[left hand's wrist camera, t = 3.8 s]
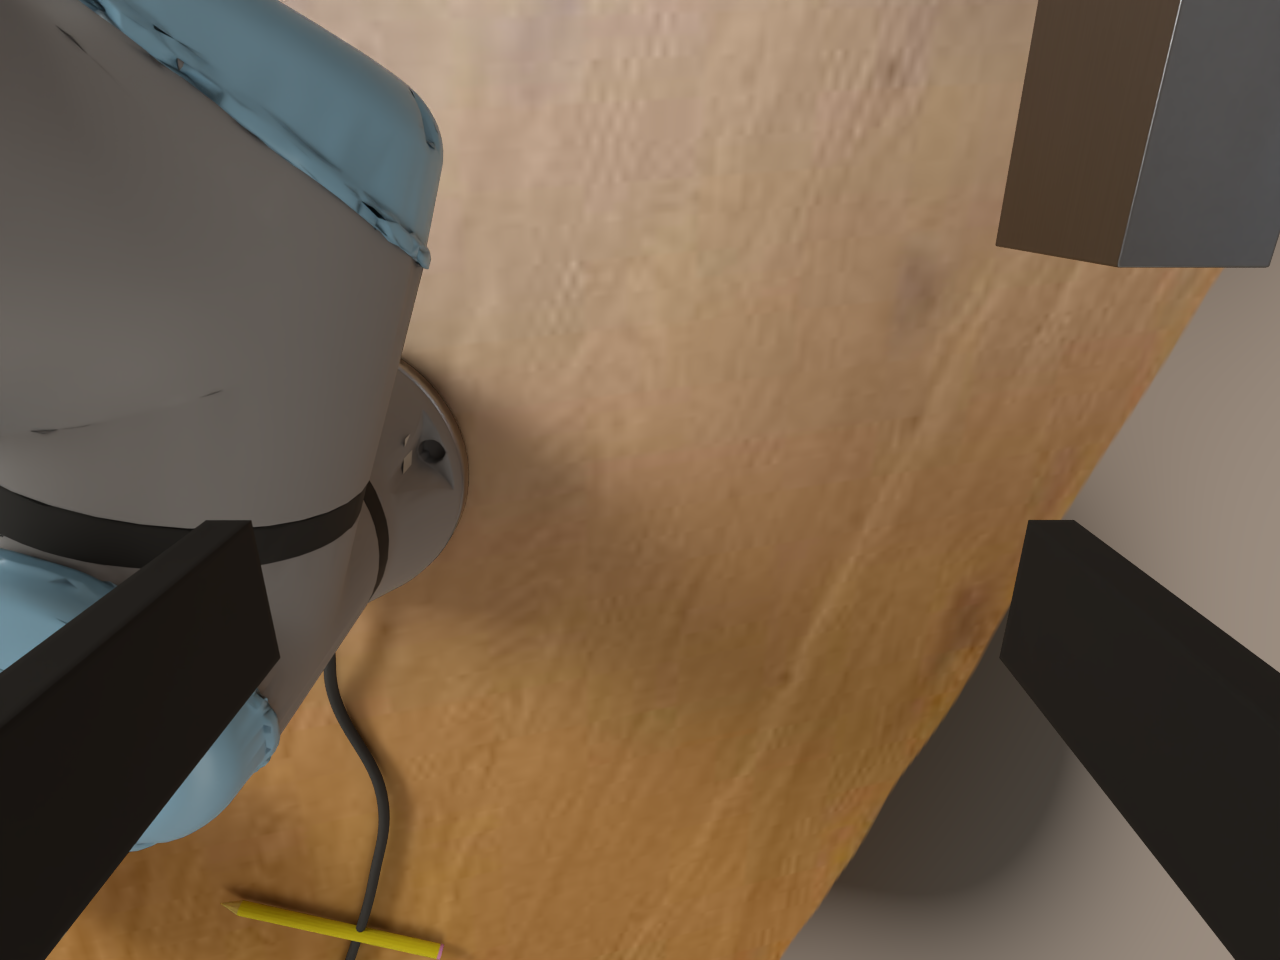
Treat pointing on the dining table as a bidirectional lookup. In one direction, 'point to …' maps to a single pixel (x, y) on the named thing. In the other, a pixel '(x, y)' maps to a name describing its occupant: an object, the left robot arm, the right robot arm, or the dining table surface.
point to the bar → (1148, 134)
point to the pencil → (335, 928)
